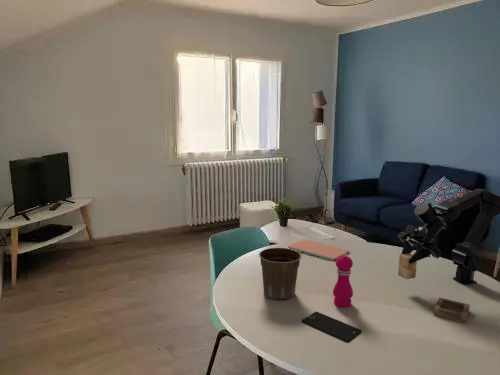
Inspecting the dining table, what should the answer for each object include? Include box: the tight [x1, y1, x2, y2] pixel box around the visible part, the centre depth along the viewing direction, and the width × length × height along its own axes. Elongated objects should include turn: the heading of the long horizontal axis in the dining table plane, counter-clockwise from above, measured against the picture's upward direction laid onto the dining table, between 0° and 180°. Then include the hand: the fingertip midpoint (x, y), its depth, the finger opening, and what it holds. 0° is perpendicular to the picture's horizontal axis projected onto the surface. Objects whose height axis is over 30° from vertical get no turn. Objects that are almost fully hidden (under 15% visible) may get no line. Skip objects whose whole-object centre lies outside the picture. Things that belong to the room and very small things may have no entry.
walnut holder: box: [433, 296, 471, 324], centre depth 141 cm, size 10×10×2 cm
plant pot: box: [258, 247, 302, 301], centre depth 155 cm, size 16×16×16 cm
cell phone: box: [301, 311, 362, 343], centre depth 133 cm, size 9×18×1 cm, turn 46°
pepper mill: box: [332, 252, 354, 308], centre depth 147 cm, size 7×7×20 cm
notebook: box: [287, 238, 350, 262], centre depth 205 cm, size 27×17×2 cm, turn 49°
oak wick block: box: [397, 253, 418, 280], centre depth 156 cm, size 4×4×8 cm
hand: (404, 260), depth 155 cm, fingers closed on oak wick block, 4 cm apart
